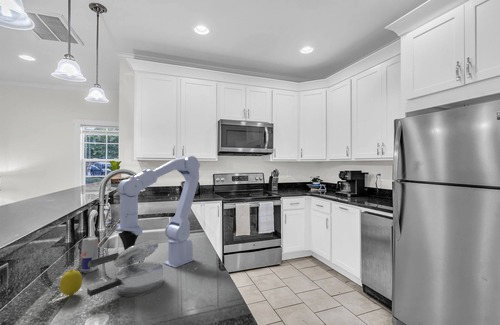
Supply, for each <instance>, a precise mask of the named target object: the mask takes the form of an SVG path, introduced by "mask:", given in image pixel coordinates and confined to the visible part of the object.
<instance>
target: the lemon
mask: <svg viewBox="0 0 500 325" xmlns="http://www.w3.org/2000/svg"><path fill="white" fill-rule="evenodd" d="M82 284H83V276H82V273H80V271H78V270H76V269H69V271H67V272H65V273H64V274H63V275H62V277H61V279H60V281H59V290H60V293H62V294H63V295H65V296H69V297H72V296H74V294H76V293H78V291H80V289H81V287H82V286H83V285H82Z"/></svg>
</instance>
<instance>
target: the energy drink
mask: <svg viewBox="0 0 500 325" xmlns="http://www.w3.org/2000/svg"><path fill="white" fill-rule="evenodd" d="M97 258H99V238H98V237H97V236H88V237H85V238H82V241H81V268H80V269H81V272H82V273H83V274H85V273H86V274H87V273H91V272H96V270H97V269H98V268H99V265H97V266H94V267H90V268H88V263H89V261H90V260H94V259H97Z"/></svg>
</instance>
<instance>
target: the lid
mask: <svg viewBox="0 0 500 325" xmlns="http://www.w3.org/2000/svg"><path fill="white" fill-rule="evenodd" d="M158 247H159V244H158V241H156V240H155V239H150V240H144V241H141V242H138V243H135V245H133V246H131V247H129V248H128V249H126V250H123V251H122V252H120V253H119V252H116V253H112V254H108V255H105V256H102V257H98V258H97V259H94V260H90V261H89V263H88V268H90V267H94V266H97V265H98V266H100V265H103V264H106V263H110V262H113V264H114V267H116V268H124V267H126V266H129V265H132V264H136V263H140V262H141V261H143V260H144V259H146V258H147V257H149V256H151V255H152V254H154V252H156V251H157V249H158Z"/></svg>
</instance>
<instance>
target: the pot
mask: <svg viewBox="0 0 500 325" xmlns="http://www.w3.org/2000/svg"><path fill="white" fill-rule="evenodd" d="M163 270H164V269H163V264H161V263H160V262H156V261H143V262H137V263H134V264H132V265H129V266H125V267H121V268H120V269H119V270H117V272H116V273H115V276H116V277H114V278H112V279H109V280H106V281H104V282H101V283H98V284H95V285H93V286H90V287H87V289H86V290H87V292H86V293H87V295H88V296H89V297H92V296H96V295H98V294H100V293H103V292H106V291H108V290H111V289H114V288H115V292H116V293H117V295H119V296H121V297H132V298H133V297H140V296H143V295H148V294H150V293H153V292H154V291H156V290H158V289H159V288H160V287H161V286H162V285H163V283H164V280H163V279H164V277H163V276H164V273H163V272H164V271H163Z"/></svg>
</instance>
